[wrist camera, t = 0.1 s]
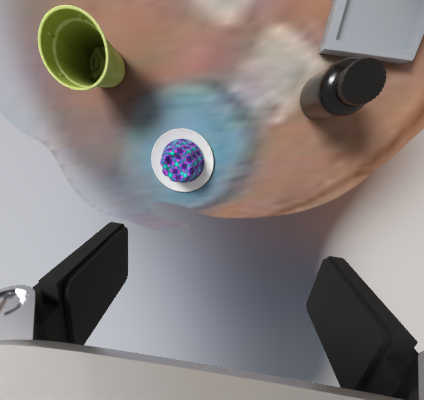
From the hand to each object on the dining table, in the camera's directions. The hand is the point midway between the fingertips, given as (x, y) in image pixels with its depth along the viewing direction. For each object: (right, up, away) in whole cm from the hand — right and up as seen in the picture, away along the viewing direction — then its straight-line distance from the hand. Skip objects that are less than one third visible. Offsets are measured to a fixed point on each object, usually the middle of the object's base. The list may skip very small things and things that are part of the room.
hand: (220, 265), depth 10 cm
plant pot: (-18, +26, +26) cm, 41 cm away
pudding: (-6, +11, +30) cm, 33 cm away
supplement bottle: (+18, +20, +25) cm, 37 cm away
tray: (+24, +31, +20) cm, 44 cm away
